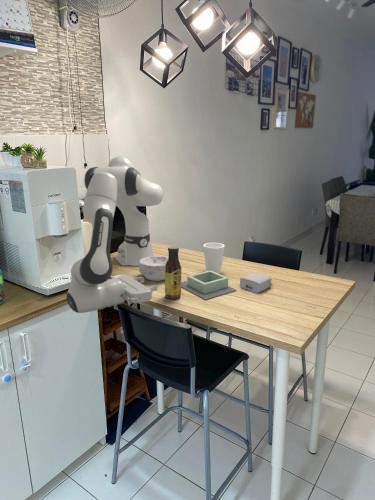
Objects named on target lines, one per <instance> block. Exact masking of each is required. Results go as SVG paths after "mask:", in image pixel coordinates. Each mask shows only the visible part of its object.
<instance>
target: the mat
mask: <svg viewBox="0 0 375 500" xmlns="http://www.w3.org/2000/svg"><path fill="white" fill-rule="evenodd" d="M207 282H210V281H206V282H204V283H207ZM181 289H184V290H185V291H187V292H189V293H191V294H193V295H195V296H197V297H198V298H201V299H203V300H204V301H208V300H211V299H215V298H218V297H221V296H225V295H228V294H231V293H234V292H236V291H237V289H235V288H233V287H231V286H229V285H228V287H227V288H223V289H220V290H216V291H213V292H209V293H206V294H203V293H201V292H199V291H197V290H196V289H194V288H192V287H190V286H188V285H187V280H185V281H181Z"/></svg>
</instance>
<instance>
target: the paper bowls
mask: <svg viewBox="0 0 375 500" xmlns="http://www.w3.org/2000/svg"><path fill="white" fill-rule="evenodd" d="M168 257H169V256H164V255H163V256H161V255H153V256H151V257H145V258H143V259H141V260H140V261H139V266H138V267H139V268H138V269H139V273H140V274H142V275H144V277H145V279H147V280H149V281H153V282H154V281H155V282H157V281H158V282H159V281H165V265H166V262H167V261H168Z"/></svg>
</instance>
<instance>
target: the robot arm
mask: <svg viewBox="0 0 375 500" xmlns="http://www.w3.org/2000/svg"><path fill="white" fill-rule="evenodd" d="M83 180H84V182H83V183H84V187H85V189H86V193H85V197H84V201H83V217H84V219H85V220H86V222H88V223H89V224H91V227H92V231H91V238H90V245H89V249H88V252H87V253H86V255H85V256H84V257H82V258H80V259H79V260H77V261H76V262H74V263H73V265H72V267H71V269H70V284H69V287H68V291H67V293H66V301H67V304H68V306H69V307H70V309H71V310H72V311H73V312H75V313H77V314H82V313H83V314H85V313H91V312H94V311H95V312H96V311H98V310H101V309H102V308H105V307H113V306H116V305H122V304H123V303H125V301H127V302H130V303H131V304H139V303H144V302H148V301H151V300H152V297H153V292H156V291H157V290H158V286H157V285H156V284H152V285H150V287H149V286H148V287H147V286H145V285H144V284H142V283H145V278H144V277H143V276H139V277H131V276H130V275H127V274H115V275H112V274H113V268H114V267H113V262H112V256H111V246H112V245H111V243H112V237H113V227H114V226H113V224H114V223H113V222H114V216H115V212H116V207H117V208H118V209H119V211H120V212H121V214H122V215H123V218H124V225H125V226H124V227H125V233H124V241H123V242H122V243H121V244H120V245H119V246H118V249H117V254H114V256H113V257H114V259H115V260H116V261H117V262H118V264H120V265H121V266H132V267H133V266H134V267H139V261H140V260H141V259H143V258H145V257H151V256H154V252H153V243H151V234H150V228H149V225H150V224H149V218H148V216H147V215H146V214H144V212H143V213H142V212H141V211H139V209H138V208H137V207H151V206H157V205H158V206H159V205H160V204H161V202H162V201H163V198H164V190H163V188H162V187H161V185H160V184H158V183H154V182H152V181H149V180H148V179H145V178H144V177H142V176H141V173H140V172H139V171H138V170H137V169H136V166H134V164H133V163H132V162H131V161H130V160H129V159H128V158H127V157H124V156H121V155H120V156H118V155H117V156H115V157H113V158H112V159H111V160H109V162H108V165H107V166H102V167H101V166H100V167H98V166H93V167H89V168H88V169H87V170H86V172H85V174H84V179H83Z"/></svg>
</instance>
